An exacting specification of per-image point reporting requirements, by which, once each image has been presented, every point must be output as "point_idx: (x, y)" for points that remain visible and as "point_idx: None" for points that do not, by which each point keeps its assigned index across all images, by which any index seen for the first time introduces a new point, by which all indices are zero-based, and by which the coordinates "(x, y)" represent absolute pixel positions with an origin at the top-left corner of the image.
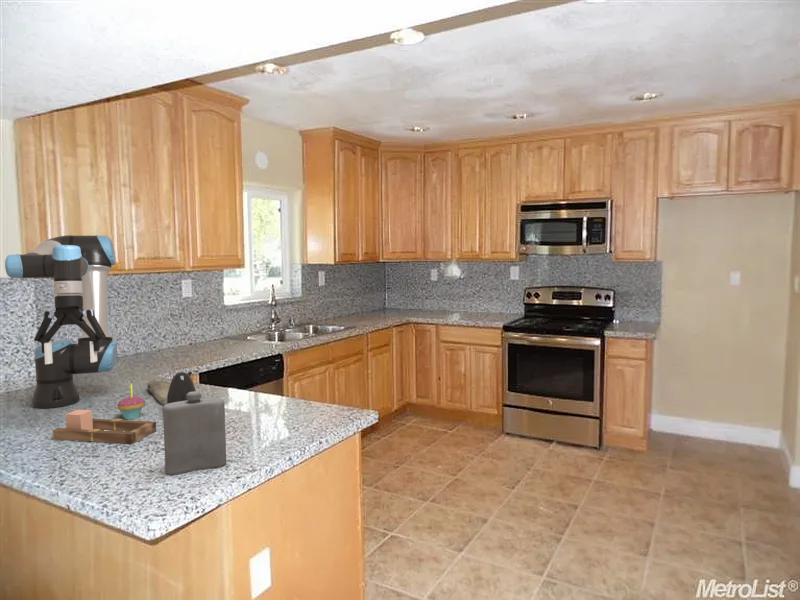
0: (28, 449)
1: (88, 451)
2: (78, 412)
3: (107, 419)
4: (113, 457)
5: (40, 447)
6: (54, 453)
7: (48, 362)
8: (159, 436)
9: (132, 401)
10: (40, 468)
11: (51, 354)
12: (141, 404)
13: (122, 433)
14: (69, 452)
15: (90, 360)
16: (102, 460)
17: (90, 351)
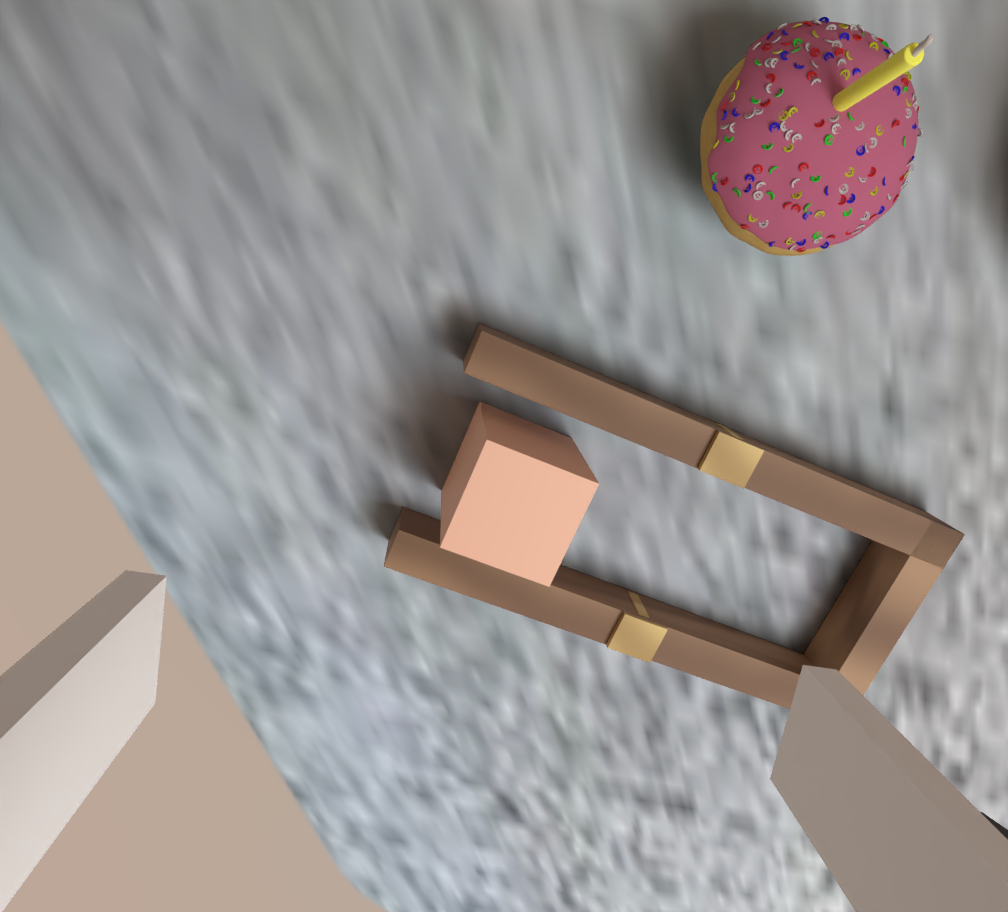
0: (319, 663)
1: (630, 745)
2: (518, 521)
3: (665, 411)
4: (756, 832)
5: (369, 646)
6: (477, 741)
7: (147, 687)
8: (942, 606)
9: (846, 217)
10: (486, 893)
11: (95, 664)
12: (893, 203)
13: None
14: (545, 741)
15: (783, 797)
16: (717, 855)
17: (860, 906)
